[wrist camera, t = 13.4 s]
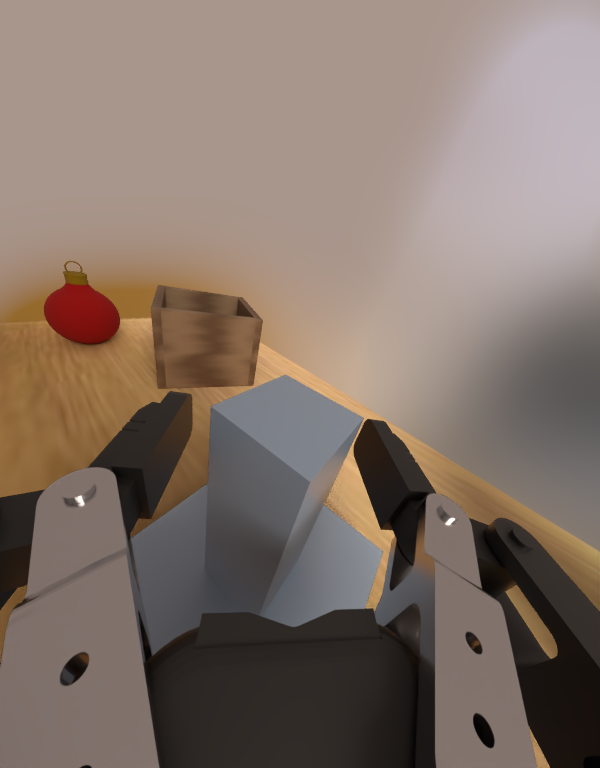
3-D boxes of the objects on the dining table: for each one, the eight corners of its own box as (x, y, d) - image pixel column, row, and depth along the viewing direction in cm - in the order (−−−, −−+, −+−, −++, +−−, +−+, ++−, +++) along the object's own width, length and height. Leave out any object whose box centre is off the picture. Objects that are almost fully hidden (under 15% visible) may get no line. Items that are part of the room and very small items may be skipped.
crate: (158, 388, 26) (150, 308, 21) (162, 348, 34) (158, 285, 29) (253, 385, 31) (262, 320, 26) (237, 351, 39) (242, 297, 35)
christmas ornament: (67, 357, 27) (39, 264, 22) (44, 336, 30) (15, 249, 25) (133, 346, 32) (122, 270, 28) (109, 329, 35) (95, 258, 30)
